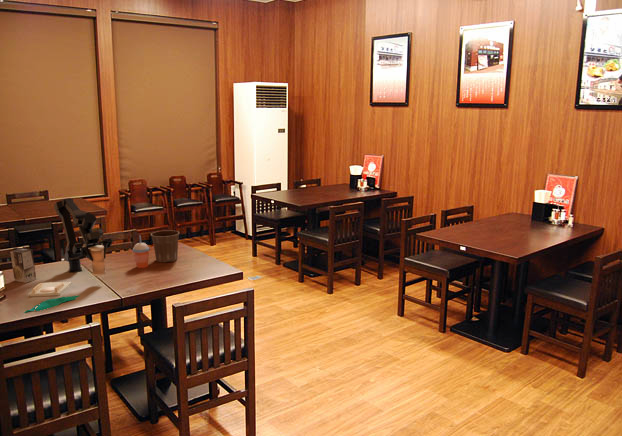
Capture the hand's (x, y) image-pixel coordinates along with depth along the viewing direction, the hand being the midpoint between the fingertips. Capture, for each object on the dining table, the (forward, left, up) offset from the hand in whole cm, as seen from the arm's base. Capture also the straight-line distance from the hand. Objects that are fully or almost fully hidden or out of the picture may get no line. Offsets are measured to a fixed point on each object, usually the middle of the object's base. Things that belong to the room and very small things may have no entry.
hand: (98, 259), depth 254 cm
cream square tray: (-3, -23, -13) cm, 26 cm away
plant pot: (-29, +38, -14) cm, 50 cm away
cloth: (+17, -22, -14) cm, 31 cm away
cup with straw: (-22, +23, -14) cm, 35 cm away
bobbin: (-1, 0, -8) cm, 8 cm away
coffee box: (-26, -35, -14) cm, 45 cm away
